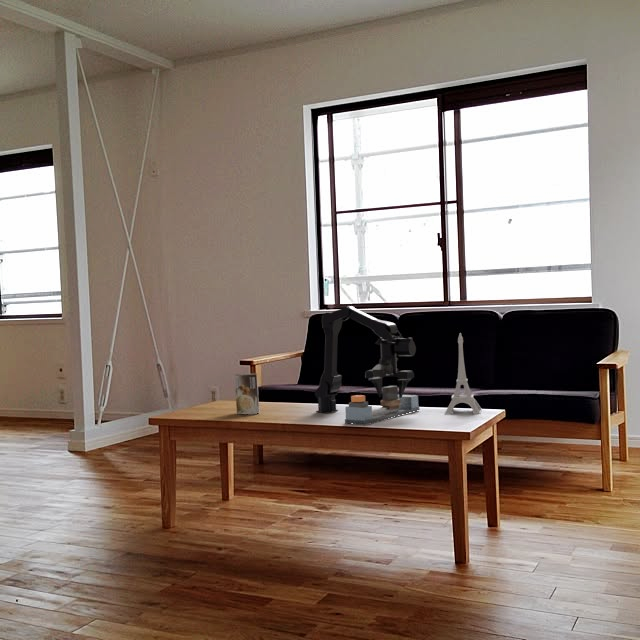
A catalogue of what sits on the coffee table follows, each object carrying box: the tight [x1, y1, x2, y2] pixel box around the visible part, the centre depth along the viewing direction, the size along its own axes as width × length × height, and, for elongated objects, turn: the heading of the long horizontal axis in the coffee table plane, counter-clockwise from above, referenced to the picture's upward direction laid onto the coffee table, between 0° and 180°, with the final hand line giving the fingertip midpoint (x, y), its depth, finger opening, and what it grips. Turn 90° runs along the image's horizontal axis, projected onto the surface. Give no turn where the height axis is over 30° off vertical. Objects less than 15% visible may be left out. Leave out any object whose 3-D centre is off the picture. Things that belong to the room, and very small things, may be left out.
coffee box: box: [234, 373, 260, 415], centre depth 319 cm, size 9×6×16 cm
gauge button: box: [350, 394, 366, 402], centre depth 281 cm, size 4×4×2 cm
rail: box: [344, 394, 421, 426], centre depth 294 cm, size 9×37×8 cm, turn 142°
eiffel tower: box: [443, 332, 483, 415], centre depth 299 cm, size 13×13×30 cm
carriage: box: [380, 385, 400, 410], centre depth 298 cm, size 5×6×8 cm
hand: (390, 397), depth 298 cm, fingers open, 9 cm apart
